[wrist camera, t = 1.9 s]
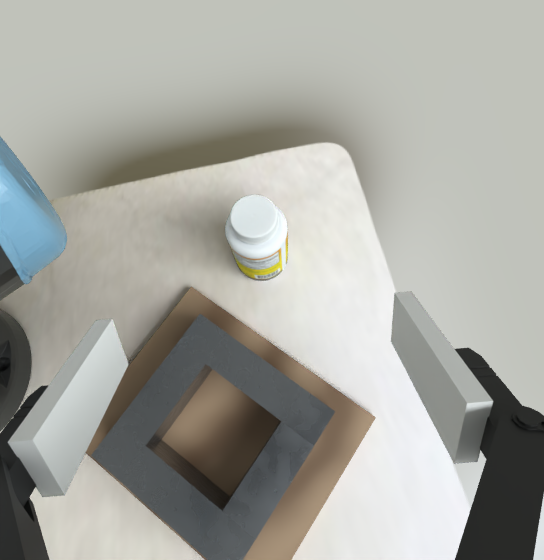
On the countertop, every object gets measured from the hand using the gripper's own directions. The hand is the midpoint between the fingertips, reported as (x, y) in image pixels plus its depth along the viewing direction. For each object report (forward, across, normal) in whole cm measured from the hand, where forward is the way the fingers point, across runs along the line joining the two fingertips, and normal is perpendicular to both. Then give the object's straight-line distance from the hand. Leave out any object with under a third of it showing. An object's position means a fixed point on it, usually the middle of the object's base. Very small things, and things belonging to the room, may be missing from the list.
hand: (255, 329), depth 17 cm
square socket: (+10, -5, -18) cm, 21 cm away
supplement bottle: (+22, 0, -6) cm, 23 cm away
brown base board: (+10, -5, -18) cm, 21 cm away
